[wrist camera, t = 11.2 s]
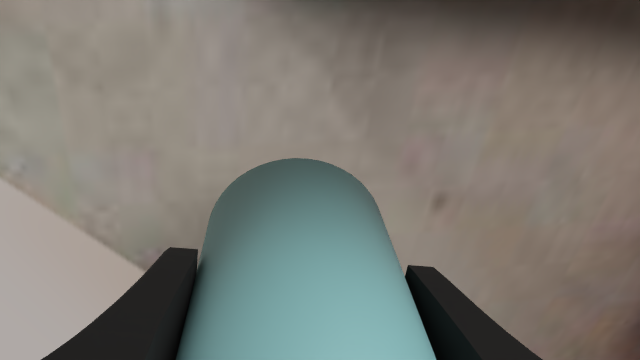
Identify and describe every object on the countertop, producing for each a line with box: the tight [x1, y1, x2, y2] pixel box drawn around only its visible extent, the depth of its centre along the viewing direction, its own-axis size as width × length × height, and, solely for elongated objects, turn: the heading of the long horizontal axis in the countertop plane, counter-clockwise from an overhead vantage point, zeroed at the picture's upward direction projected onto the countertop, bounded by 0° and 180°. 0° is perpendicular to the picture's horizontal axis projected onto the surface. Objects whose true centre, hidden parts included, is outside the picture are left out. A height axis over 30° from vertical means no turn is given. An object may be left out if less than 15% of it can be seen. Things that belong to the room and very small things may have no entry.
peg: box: [176, 158, 436, 360], centre depth 10 cm, size 5×5×9 cm
